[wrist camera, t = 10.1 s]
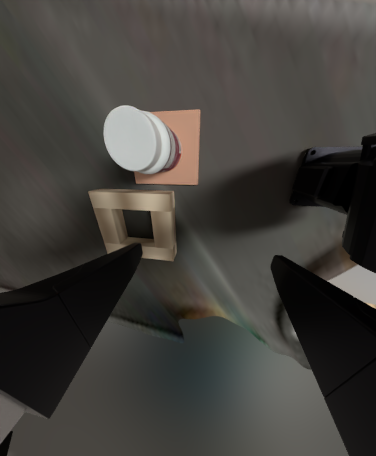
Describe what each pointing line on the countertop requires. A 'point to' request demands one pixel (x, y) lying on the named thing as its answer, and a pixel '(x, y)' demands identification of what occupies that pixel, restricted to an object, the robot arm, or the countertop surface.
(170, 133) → the pill bottle
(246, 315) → the countertop surface
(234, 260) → the countertop surface
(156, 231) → the frame block
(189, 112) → the terracotta tile
